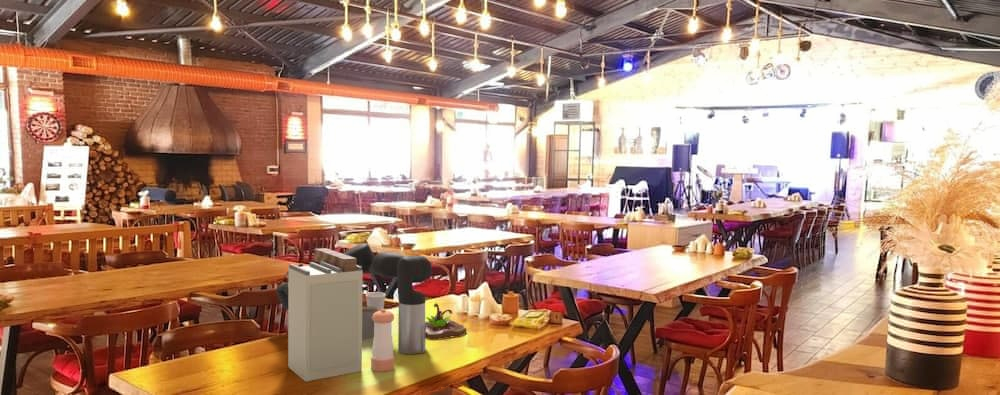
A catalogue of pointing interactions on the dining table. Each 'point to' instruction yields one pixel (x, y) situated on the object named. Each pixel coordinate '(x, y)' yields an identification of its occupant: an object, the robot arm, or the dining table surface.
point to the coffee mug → (368, 322)
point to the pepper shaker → (382, 341)
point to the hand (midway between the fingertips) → (314, 265)
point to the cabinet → (324, 320)
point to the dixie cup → (375, 300)
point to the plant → (442, 326)
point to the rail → (336, 259)
